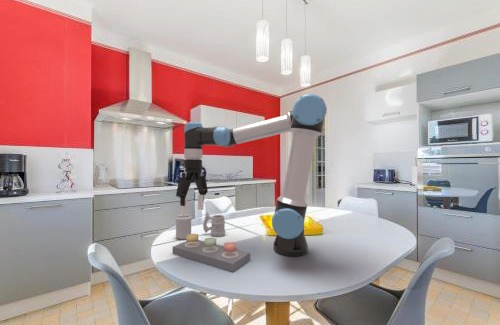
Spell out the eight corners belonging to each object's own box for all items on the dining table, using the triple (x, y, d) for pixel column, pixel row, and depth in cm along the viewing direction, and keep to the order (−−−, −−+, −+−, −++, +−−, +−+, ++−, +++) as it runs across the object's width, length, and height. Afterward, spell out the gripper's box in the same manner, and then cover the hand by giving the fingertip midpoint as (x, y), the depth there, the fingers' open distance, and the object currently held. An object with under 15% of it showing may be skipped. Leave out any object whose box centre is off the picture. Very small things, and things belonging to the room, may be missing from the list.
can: (183, 241, 115) (183, 216, 115) (172, 238, 119) (172, 214, 119) (194, 237, 121) (194, 213, 121) (184, 234, 125) (184, 211, 125)
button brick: (239, 248, 92) (239, 243, 92) (231, 253, 88) (231, 247, 88) (228, 246, 95) (228, 241, 95) (221, 250, 91) (221, 245, 91)
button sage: (219, 244, 98) (219, 239, 98) (211, 247, 93) (211, 242, 93) (209, 241, 100) (209, 237, 100) (201, 245, 96) (201, 240, 96)
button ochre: (200, 239, 103) (200, 235, 103) (192, 242, 99) (192, 238, 98) (192, 237, 105) (192, 233, 105) (184, 240, 101) (184, 236, 101)
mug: (224, 237, 122) (225, 214, 122) (201, 237, 121) (201, 213, 121) (225, 232, 129) (226, 210, 129) (204, 232, 129) (204, 210, 129)
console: (250, 260, 94) (250, 252, 94) (232, 272, 84) (232, 263, 84) (193, 245, 110) (193, 238, 110) (172, 253, 100) (172, 246, 100)
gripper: (203, 159, 113) (203, 206, 113) (166, 158, 94) (166, 215, 95) (216, 159, 109) (215, 208, 109) (179, 158, 90) (179, 217, 91)
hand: (192, 211), depth 102 cm, fingers open, 9 cm apart
